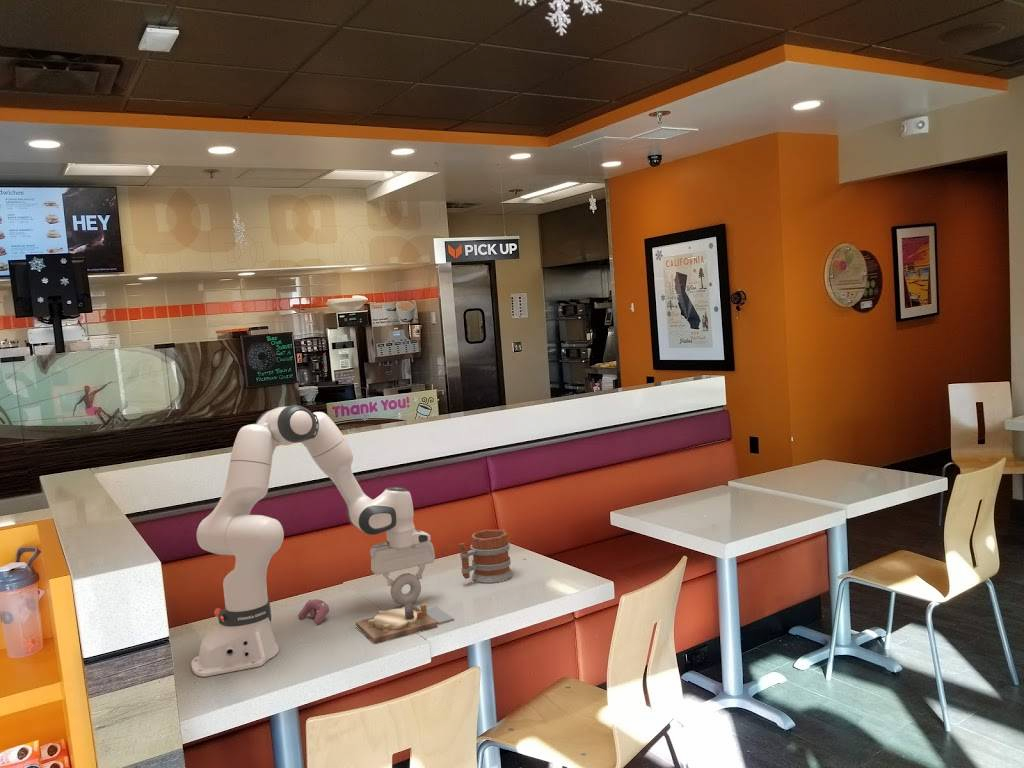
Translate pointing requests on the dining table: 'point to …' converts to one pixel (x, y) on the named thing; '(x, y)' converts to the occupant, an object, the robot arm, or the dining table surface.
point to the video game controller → (315, 610)
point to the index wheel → (396, 618)
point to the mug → (487, 557)
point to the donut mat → (439, 615)
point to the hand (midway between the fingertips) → (405, 582)
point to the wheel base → (380, 635)
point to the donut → (413, 593)
